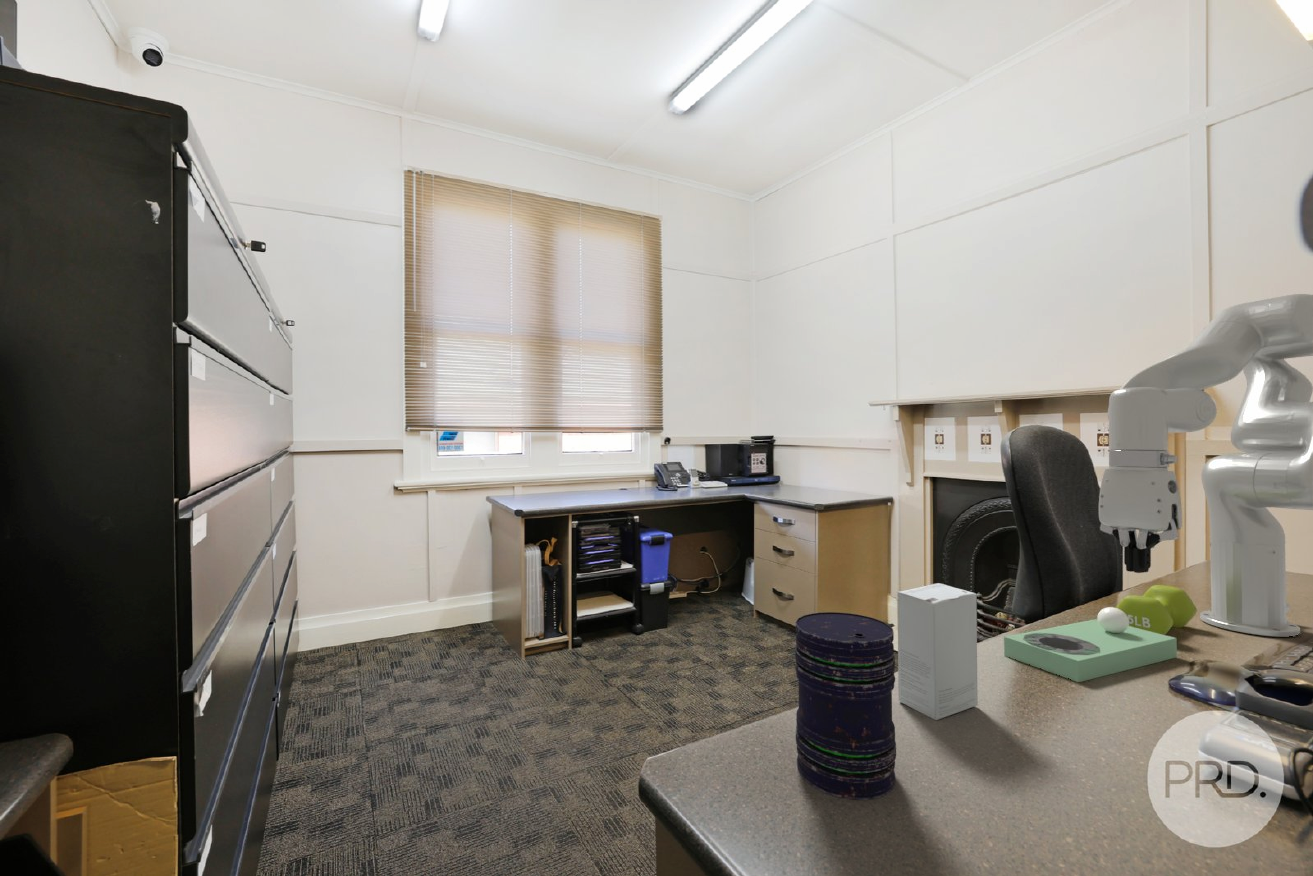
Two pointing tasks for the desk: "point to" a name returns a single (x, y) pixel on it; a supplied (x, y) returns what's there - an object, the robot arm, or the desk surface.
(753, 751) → the desk surface
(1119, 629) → the white egg
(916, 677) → the skincare box
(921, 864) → the desk surface
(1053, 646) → the putting mat
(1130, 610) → the dumbbell
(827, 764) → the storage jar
